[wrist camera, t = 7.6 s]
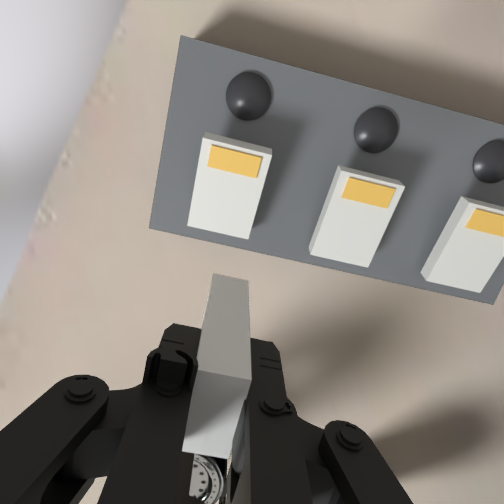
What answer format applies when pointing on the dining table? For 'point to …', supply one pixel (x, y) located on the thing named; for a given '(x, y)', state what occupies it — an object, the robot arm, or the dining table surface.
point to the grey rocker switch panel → (326, 158)
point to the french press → (200, 479)
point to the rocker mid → (355, 216)
